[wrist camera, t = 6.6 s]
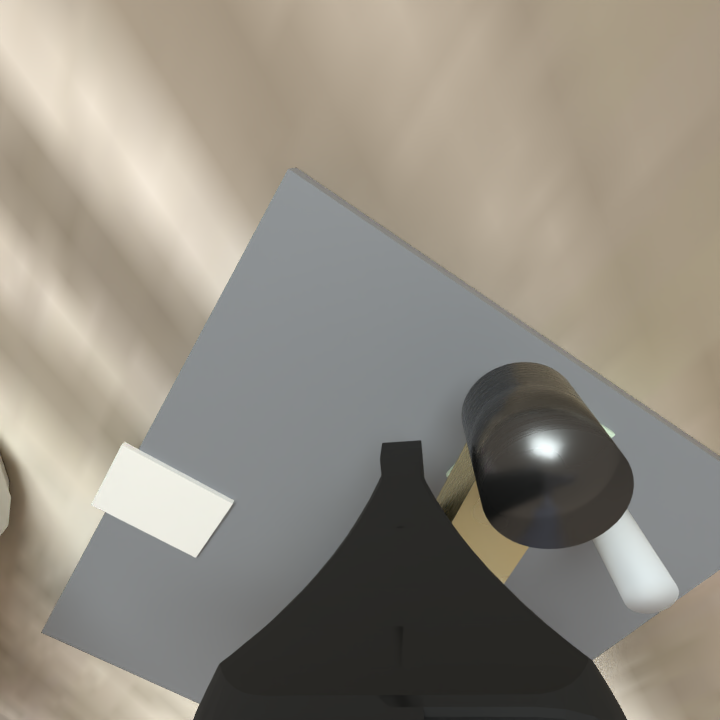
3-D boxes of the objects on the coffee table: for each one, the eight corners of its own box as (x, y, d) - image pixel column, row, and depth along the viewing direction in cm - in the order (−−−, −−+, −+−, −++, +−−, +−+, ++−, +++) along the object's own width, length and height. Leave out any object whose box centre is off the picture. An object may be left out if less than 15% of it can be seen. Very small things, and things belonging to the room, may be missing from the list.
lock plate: (773, 492, 15) (933, 637, 11) (402, 769, 23) (403, 921, 19) (279, 156, 12) (210, 158, 8) (46, 605, 20) (-57, 738, 16)
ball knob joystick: (419, 752, 16) (424, 862, 14) (256, 705, 16) (229, 809, 14) (668, 409, 11) (754, 490, 8) (417, 320, 10) (425, 376, 8)
